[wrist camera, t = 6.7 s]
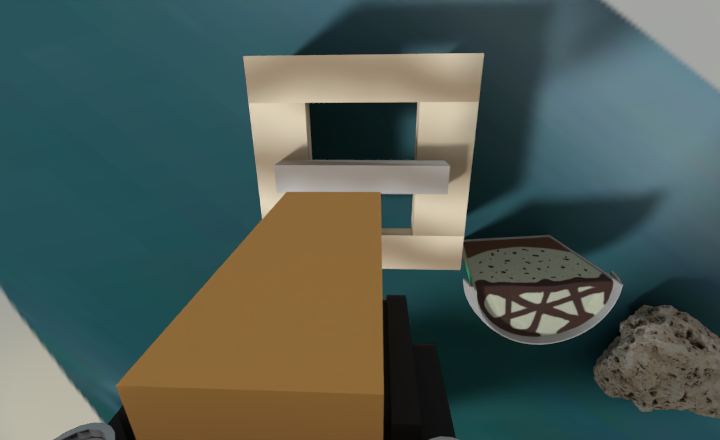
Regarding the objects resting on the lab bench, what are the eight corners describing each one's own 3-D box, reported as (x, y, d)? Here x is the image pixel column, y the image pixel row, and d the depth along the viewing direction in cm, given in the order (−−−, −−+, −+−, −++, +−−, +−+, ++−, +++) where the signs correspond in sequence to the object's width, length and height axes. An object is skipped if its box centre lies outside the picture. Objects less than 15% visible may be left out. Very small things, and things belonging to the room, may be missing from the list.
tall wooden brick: (379, 300, 16) (380, 592, 7) (297, 298, 16) (188, 579, 7) (380, 191, 14) (383, 394, 5) (286, 191, 14) (116, 385, 5)
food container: (445, 289, 39) (467, 352, 29) (445, 240, 36) (469, 291, 27) (557, 284, 38) (616, 347, 28) (564, 234, 36) (630, 284, 26)
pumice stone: (732, 322, 38) (818, 377, 31) (662, 393, 42) (723, 458, 35) (626, 280, 37) (689, 327, 30) (564, 358, 41) (606, 417, 34)
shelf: (440, 228, 36) (466, 282, 26) (293, 226, 37) (260, 278, 26) (454, 64, 30) (494, 49, 20) (279, 66, 31) (231, 52, 21)
